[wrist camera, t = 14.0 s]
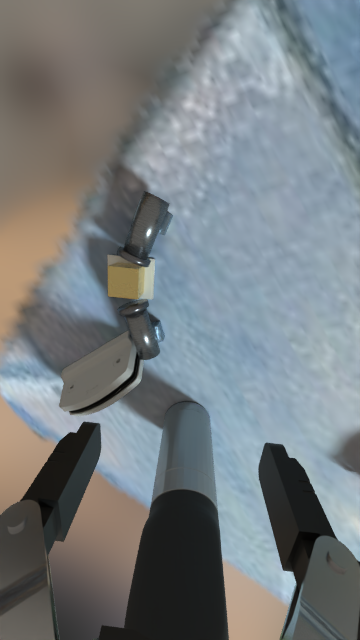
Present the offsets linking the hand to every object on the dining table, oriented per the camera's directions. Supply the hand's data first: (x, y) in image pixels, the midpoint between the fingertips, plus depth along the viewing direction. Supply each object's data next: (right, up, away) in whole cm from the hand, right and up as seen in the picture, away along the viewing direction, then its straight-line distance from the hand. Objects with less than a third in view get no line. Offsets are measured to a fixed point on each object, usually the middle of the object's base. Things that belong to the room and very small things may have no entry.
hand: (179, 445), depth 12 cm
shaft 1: (-5, +20, +25) cm, 32 cm away
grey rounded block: (-14, -3, +34) cm, 37 cm away
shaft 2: (-6, +5, +30) cm, 31 cm away
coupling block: (-8, +13, +28) cm, 31 cm away
